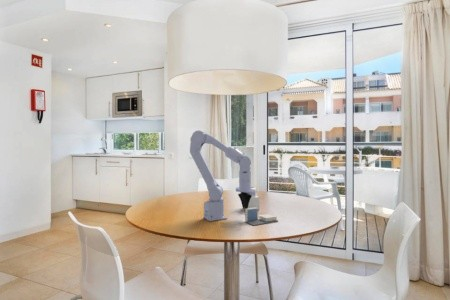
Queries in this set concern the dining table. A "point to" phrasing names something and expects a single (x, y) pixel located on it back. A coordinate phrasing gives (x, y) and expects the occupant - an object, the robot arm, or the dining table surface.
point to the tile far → (267, 217)
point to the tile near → (251, 214)
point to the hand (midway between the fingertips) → (245, 208)
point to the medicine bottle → (254, 200)
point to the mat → (260, 222)
